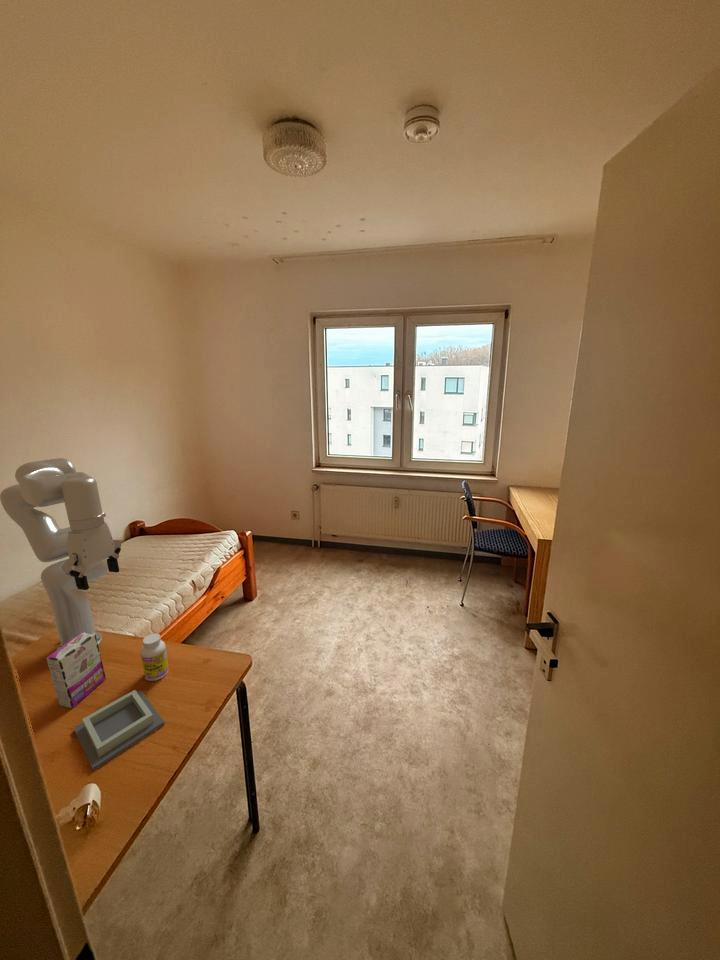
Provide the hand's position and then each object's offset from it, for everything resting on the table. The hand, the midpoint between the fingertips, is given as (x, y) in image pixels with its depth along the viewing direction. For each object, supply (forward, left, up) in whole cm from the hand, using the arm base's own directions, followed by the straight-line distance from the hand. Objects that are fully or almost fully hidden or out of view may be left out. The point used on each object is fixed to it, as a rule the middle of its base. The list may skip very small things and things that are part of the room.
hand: (99, 580), depth 103 cm
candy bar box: (-3, -8, -34) cm, 36 cm away
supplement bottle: (+6, +9, -34) cm, 36 cm away
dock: (+18, -5, -34) cm, 39 cm away
